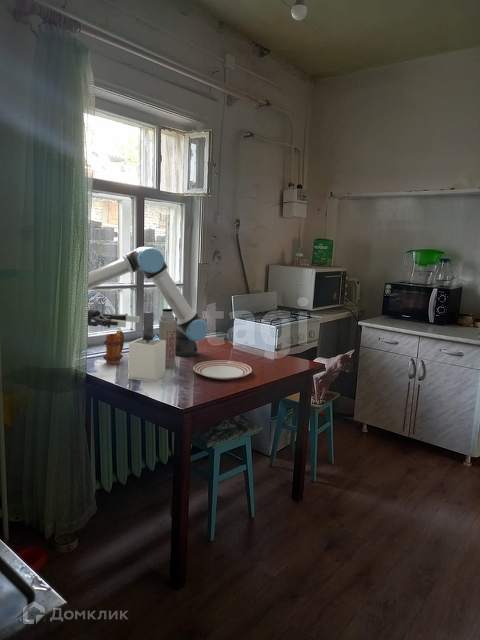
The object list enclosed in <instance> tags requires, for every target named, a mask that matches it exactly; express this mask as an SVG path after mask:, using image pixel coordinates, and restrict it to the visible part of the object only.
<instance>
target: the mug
mask: <svg viewBox="0 0 480 640" xmlns="http://www.w3.org/2000/svg"><path fill="white" fill-rule="evenodd" d="M124 335H125V334H124V332H123V331H122V330H117V331H116V332H115V333H110V334H106V337H105V338H106V339H105V340H104V341H103V344H104V345H105V349H106V352H105V353H106V354H105V355H104V356H102V358H103V359H104V360H105V361H106V364H107V365H118V364H120V362H121V360H122V358H123V357H124V356H123V355H124V354H121V353H122V351H123V349H124V345H125V344H124V343H125V336H124Z"/></svg>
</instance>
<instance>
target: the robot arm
mask: <svg viewBox="0 0 480 640" xmlns="http://www.w3.org/2000/svg"><path fill="white" fill-rule="evenodd" d="M138 271H141V272H142V274H143V275H144V277H145V278H146V279H147V280H149V281H151V282H152V283H153V284H154V286H155V287H156V289H157V290H158V292H159V293H160V294H161V297H162V298H163V300H164V301H165V302H166V304H167V305H168V307H169V309H173V311H172V312H173V315H174V318H175V319H174V320H175V321H176V341H175V357H196V356H198V355H199V347H198V344H197V342H200V341H202V340H204V339H205V338H206V336H207V334H208V331H209V326H208V324H207V322H206V321H205V320H204V319H202V318H201V316H200V315H199V313H198V312H197V310H195V309H192V308H191V306H190V305H189V304H188V301H187V300H186V298H185V296H184V295H183V294H182V293H181V291H180V289H179V288H178V285H176V283H175V281H174V280H173V278H172V277H171V275H170V274H169V273H168V265H167V263H166V261H165V258H164V255H163V254H162V252H161V251H160V250H159V249H158V248H155V247H153V246H140V247H139V246H138V248H136V249H134V250H132V251H130V252H128V253H126V254H123V256H122V257H121V258H120V259H118V260H115V261H113V262H110V263H108V264H105V265H103V266H100V267H98V268H97V269H95V270H92V271H90V272H88V273H89V279H88V290H87V291H89V290H92V289H94V288H96V287H98V286H101V285H103V284H105V283H107V282H110V281H113V280H114V279H116V278H120V277H122V276H123V275H127V274H128V273H131V274H133V273H135V272H138ZM87 309H88V325H87V326H89V327H98V326H101V327H105V328H106V327H107V328H111V327H117V328H118V327H119V328H126V325H127V323H126V322H131V323H138V324H139V323H141V321H140V320H141V317H140V316H138V315H129V314H128V313H125V314H124V313H123V314H121V313H118V314H116V313H102V314H101V311H100V310H98V309H91V308H87Z"/></svg>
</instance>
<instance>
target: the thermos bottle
mask: <svg viewBox="0 0 480 640" xmlns="http://www.w3.org/2000/svg"><path fill="white" fill-rule="evenodd" d="M158 331H159V332H158V340H166V355H165V369H166V368H173V367H175V366H176V355H175V341H176V321H175V314H174V313H173V309H171V308H162V314H161V315H160V319H159V320H158Z"/></svg>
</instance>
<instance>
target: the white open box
mask: <svg viewBox="0 0 480 640" xmlns="http://www.w3.org/2000/svg"><path fill="white" fill-rule="evenodd" d="M165 355H166V340H159V338H158V339H157V338H156V339H155V338H153V340H150V345H149V344H146V340H143V337H140V338H137V339H135V340H133V341H130V342H128V379H130V380H136V381H144V382H145V381H146V382H153V383H154V382H156V381H158V380H159V379H161V378H162V377H164V376H165V375H166V367H165Z"/></svg>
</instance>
